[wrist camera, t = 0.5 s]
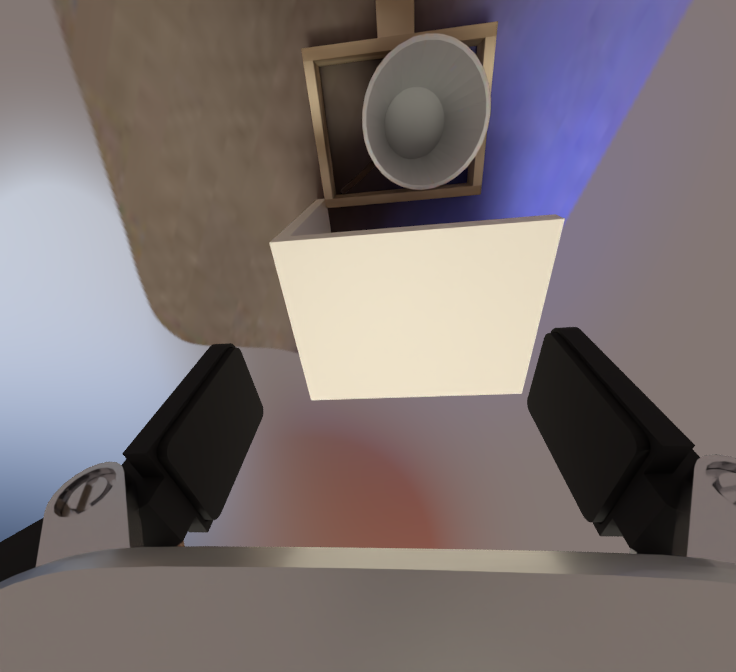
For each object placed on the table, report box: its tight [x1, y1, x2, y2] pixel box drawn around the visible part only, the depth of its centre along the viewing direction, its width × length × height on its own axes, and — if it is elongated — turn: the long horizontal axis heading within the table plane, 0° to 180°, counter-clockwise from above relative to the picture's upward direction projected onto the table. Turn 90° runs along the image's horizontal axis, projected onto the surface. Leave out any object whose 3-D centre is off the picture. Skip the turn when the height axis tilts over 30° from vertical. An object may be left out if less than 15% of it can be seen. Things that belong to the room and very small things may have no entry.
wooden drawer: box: [301, 0, 498, 208], centre depth 24 cm, size 20×15×7 cm
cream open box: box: [270, 199, 565, 400], centre depth 29 cm, size 14×18×16 cm
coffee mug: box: [341, 33, 491, 194], centre depth 25 cm, size 12×9×10 cm
